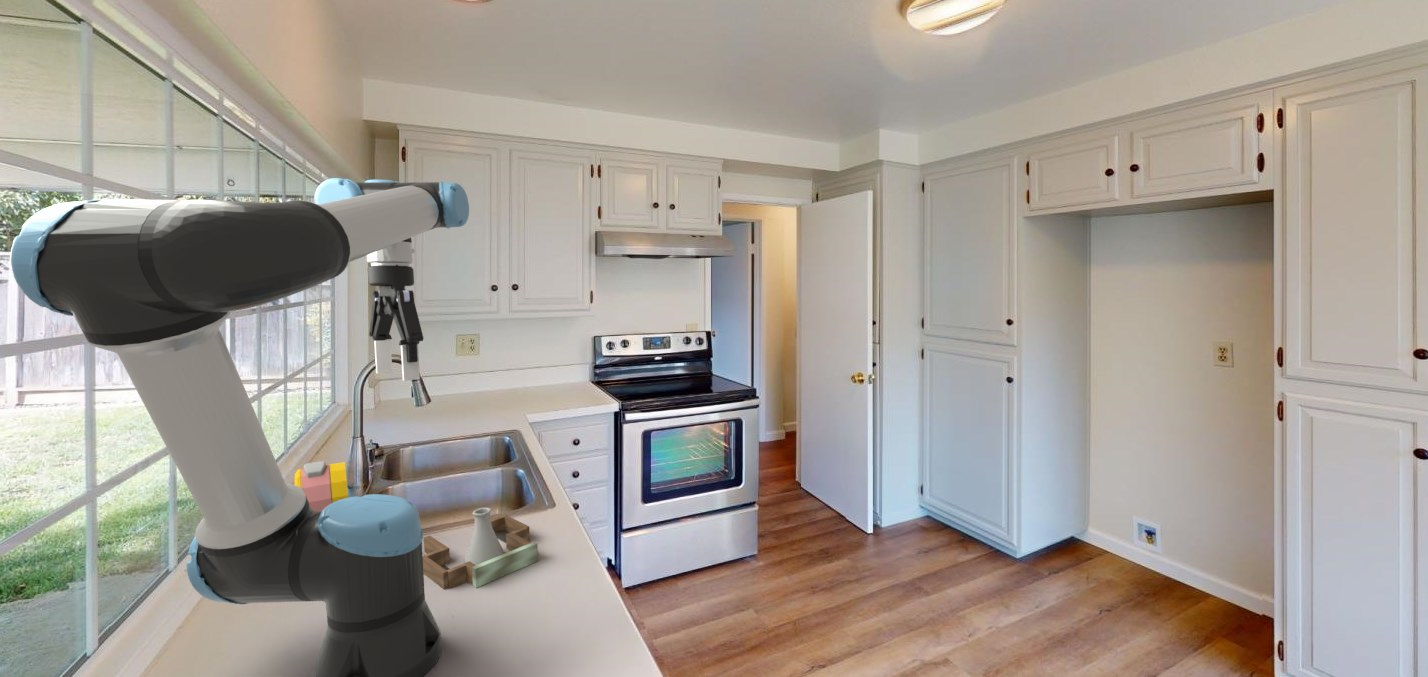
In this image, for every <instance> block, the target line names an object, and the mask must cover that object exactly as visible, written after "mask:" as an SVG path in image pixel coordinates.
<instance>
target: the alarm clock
mask: <svg viewBox="0 0 1428 677" xmlns="http://www.w3.org/2000/svg"><path fill="white" fill-rule="evenodd" d="M302 466H303V468H299V469H297V470H296V472H295V474H294V480H293V482H294V484H293V485H296V486H298V487H300V488H302V489H303V491H304V493H305V495H306V497H307V499H308V502H309V504H310V507H311V508H312V509H313V510H314V511H323V509H324V508H325V507H327V506H328V505H330V504H332V503H334V502H336V501H338V500H341V499H345V498H349V492H348V489H349V488H348V480H347V479H348V478H347V470H346V462H345V461H343V462H336V463H330V464H327V463H326V461H324V460H319V461H315V462H313V461H312V462H307V463H304V465H302Z"/></svg>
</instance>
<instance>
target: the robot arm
mask: <svg viewBox="0 0 1428 677" xmlns="http://www.w3.org/2000/svg"><path fill="white" fill-rule="evenodd" d="M469 216H470V204H469V199H468V195H467V193H466V191H465V189H464V187H463V186H462V185H460V184H459V183H458V182H450V181H449V182H448V181H447V182H445V181H440V180H439V181H432V182H431V181H430V182H429V181H428V182H427V181H426V182H423V181H421V182H420V181H417V182H402V181H401V182H400V181H397V180H396V181H394V180H391V179H376V178H375V179H368V180H365V181H364V182H360V181H359V182H357V181H354V180H351V179H349V178H340V177H331V178H328V179H325V180H324V181H322V182H321V183H320V184H319V185H318V186H317V188H316V190H315V192H314V202H313V201H309V200H303V199H294V200H287V201H282V202H254V201H238V200H237V201H235V200H234V201H233V200H215V199H214V200H213V199H116V198H109V197H107V198H101V199H89V200H81V201H80V200H79V201H68V202H67V201H66V202H62V203H56V204H53V205H49V206H48V207H45V208H43V209H41V210H39V211H38V212H35V213H34V214H33V215H32V216H30V217H28V219H27V220H25V222H24V223H23V225H22V226H21V230H20V232H19V234H18V235H17V236H15V237H14V238H13V241H12V246H11V249H10V257H9V258H10V259H9V260H10V269H11V271H12V273H11V274H12V275H13V278H14V280H15V282H16V284H17V286H18V287H19V289H20V290H21V292H23V294H24V296H26V297H27V298H28V299H29V300H30V301H32V302H33V303H34V304H36V305H38V306H39V307H40V308H41V307H42V308H46V309H48V310H50V311H52V312H54V313H58V314H61V315H65V316H69V317H74V319H75V321H76V322H77V325H78V327H79V328H80V330H81V332H82V334H83V335H84V337H85V339H86V342H88V344H89V345H90V346H92V347H94V348H98V349H102V350H106V351H108V352H113V353H115V354H116V355H117V356H118V357H119V359H120V362H121V363H122V365H123V367H124V369H125V370H126V371H125V372H126V373H127V374H128V376H129V378H130V381H131V382H132V385H133V386H134V388H135V389H136V392H137V393H138V396H139V398H140V399H141V402H142V403H143V405H144V407H145V409H146V411H147V412H148V414H149V416H150V418H151V420H152V422H153V423H154V426H155V427H156V429H157V431H158V433H159V435H160V437H161V439H162V441H163V443H164V445H165V447H166V449H167V450H168V453H169V454H170V457H171V458H172V459H173V460H172V461H173V462H174V463H175V466H176V467H177V469H178V471H179V473H180V475H181V477H182V479H183V481H184V483H185V485H186V486H187V488H188V491H189V492H190V494H191V495H192V498H193V499H194V502H195V504H196V506H197V508H198V509H199V511H200V513H201V516H202V519H201V520H200V522H199V523H198V524H197V527H196V529H195V534H194V538H193V539H192V542H191V543H190V546H189V549H188V552H187V554H188V555H190V556H191V560H189V561H187V562H186V572H187V577H188V580H189V583H190V584H191V586H192V587H193V589H194V590H195V591H196V592H197V594H199V595H200V596H202V597H203V598H206V599H207V600H210V601H212V602H218V603H229V604H235V605H247V604H260V603H261V604H262V603H264V604H265V603H266V604H267V603H296V602H324V603H325V608H326V609H325V610H326V621H327V628H326V632H325V635H324V639H323V641H322V646H321V649H320V653H319V654H318V659H317V662H316V666H315V672H314V673H315V674H314V677H424V676H425V675H427V673H428V672H429V671H431V669H432V668H434V666H435V665H436V663H437V662H438V660H439V659H440V656H441V654H442V649H443V648H442V635H441V630H440V628H439V625H438V623H437V622H436V620H435V618H434V617H435V616H433V613H432V611H431V609H430V607H429V605H428V603H427V600H426V594H425V575H424V573H423V556H424V555H423V542H422V540H423V538H424V537H423V536H424V535H423V530H422V526H421V521H420V514H419V511H418V508H417V507H416V506H415V505H414V504H413V503H412V502H411V501H410V500H408V499H406V498H404V497H400V496H397V495H391V494H381V493H377V494H376V493H373V494H370V493H369V494H364V495H362V496H356V495H355V496H350V497H349V496H348V498H345V499H341V500H338V501H336V502H334V503H332V504H330V505H328V506H327V507H325V508H324V509H323V511H314V510H313V509H312V508H311V507H310V504H309V502H308V499H307V497H306V495H305V493H304V491H303V489H302V488H300V487H298V486H296V485H294V484H293V483H286V482H285V480H284V476H283V474H282V472H281V469H280V467H279V465H278V463H277V461H276V459H275V456H274V453H273V451H272V448H271V447H270V445H269V441H268V439H267V437H266V434H265V432H264V431H263V428H262V426H261V423H260V421H259V419H258V416H257V414H256V412H255V409H254V407H253V405H252V402H251V400H250V397H249V396H248V393H247V390H246V388H245V386H244V384H243V382H242V378H241V376H240V374H239V371H238V370H237V367H236V365H235V363H234V361H233V358H232V356H231V353H230V350H229V349H228V348H229V347H228V346H227V344H226V342H225V339H224V337H223V334H222V332H221V330H220V328H221V326H222V325H223V324H224V322H225V321H226V319H228V317H229V315H230V313H231V312H236V311H241V310H246V309H251V308H255V307H259V306H262V305H266V304H269V303H272V302H275V301H278V300H282V299H284V298H287V297H290V296H293V295H295V294H298V293H300V292H303V291H305V290H309V289H311V288H313V287H316V286H318V285H320V284H323V283H326V282H328V281H329V280H332V279H334V278H336V277H338V276H340V275H341V274H342V273H343V272H344V271H346V269H347V268H348V265H349V264H350V262H354V261H356V260H358V259H361V258H363V257H366V262H367V263H368V264H370V266H368V268H367V277H368V278H367V280H368V284H369V286H371V287H379V290H372V292H371V293H372V306H371V314H370V315H371V316H370V323H369V332H368V333H369V334H368V336H369V337H370V338H371V337H372V340H373V343H374V357H375V358H374V359H375V373H376V374H388V373H393V361H392V360H393V359H392V345H391V344H392V343H391V340H393V338H392V335H391V334H390V332H391V329H392V325H393V321H394V323H395V327H396V328H397V331H398V334H399V336H400V338H401V340H399V343H398V345H399V346H400V358H401V360H400V361H401V373H402V375H401V376H402V381H413V380H420V376H421V375H420V357H419V356H420V355H419V344H420V342H423V341H424V334H423V332H422V327H421V323H420V318H419V315H418V311H417V308H416V303H415V295H414V291H413V290H406V288H405V287H412V286H414V284H415V278H414V277H415V275H414V268H413V267H412V266H410V264H411V265H412V264H413V262H414V261H413V260H414V259H413V254H414V253H415V249H414V248H413V244H412V243H413V240H412V238H413V237H415V236H418V235H421V234H423V233H426V232H429V231H431V230H434V229H438V228H446V229H450V228H460V227H463V226H465V225H466V223H467V222H468V219H469Z"/></svg>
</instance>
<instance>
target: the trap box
mask: <svg viewBox="0 0 1428 677" xmlns="http://www.w3.org/2000/svg"><path fill="white" fill-rule="evenodd" d="M490 520H491V524H492V528H493V530H494V532H495V534H496V537H497V539H498V540H500V541H501V542H503V543H504V544H505V546H506V547H505V548H506V549H507V550H508V552H505V554H502V555H500V556H498V557H495V558H493V559H490V560H488V561H485V562H483V563H480V564H478V565H475V564H473V563H472V562H470V561H469V562H466V563H464V564H463V563H461V564H459V565H457V566H454V567H450V568H449V567H448V566H447V565H448V564H451V556H450V555H451V554H450V547H448V546H447V545H445V544H443V543H442V542H440V541H439V540H438V539H436V538H434V536H433V537H432V536H431V535H427V536H424V537H423V549H424V551H423V552H424V553H425V554H424V555H423V573H424V576H426V577H427V578H428V579H429V580H431V581H432V582H434V583H435V584H436V585H437V586H439V587H440V588H442V590H446V589H448V588H449V589H451V588H454V587H457V586H459V585H461V584H463V583H466V582H467V583H468V584H470V585H471V586H473V587H474V588H476V589H477V588H479V587H482V586H484V585H486V584H489V583H490V582H493V581H495V580H496V581H497V580H498V579H500V578H502V577H504V576H507V575H509V574H511V573H513V572H516V571H518V570H520V569H522V568H523V569H524V568H525V567H527V566H530V565H532V564H535V563H537V562H539V549H538V548H539V547H538V543H537V542H536V541H532V542H531V541H530V540H531V536H530V525H527V524H525V523H523V522H521V521H519V520H517V519H515V518H513V517H511V516H508V514H507V515H504V516H503V515H500V516H498V517H495V518H492V519H490Z"/></svg>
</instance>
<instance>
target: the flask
mask: <svg viewBox="0 0 1428 677" xmlns="http://www.w3.org/2000/svg"><path fill="white" fill-rule="evenodd" d="M491 512H492V508H490V507H479V508H477V509H475V510H473V512H472V516H473V518H474V524H473V525H474V526H473V532H472V535H471V538H470V542H469V545H468V548H467V551H466V554H465V556H464V560H463V563H462V564H464V563H466V562H469V561H470V562H472V563H473V564H475V565H478V564H480V563H483V562H485V561H488V560H490V559H493V558H495V557H498V556H500V555H502V554H505V553H506V552H505V550H504V548H503V547H502V545H501V543H500V541H499V539H498V538H497V537H496V534H495V532H494V530H493V528H492V524H491V520H492V519H491Z"/></svg>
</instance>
